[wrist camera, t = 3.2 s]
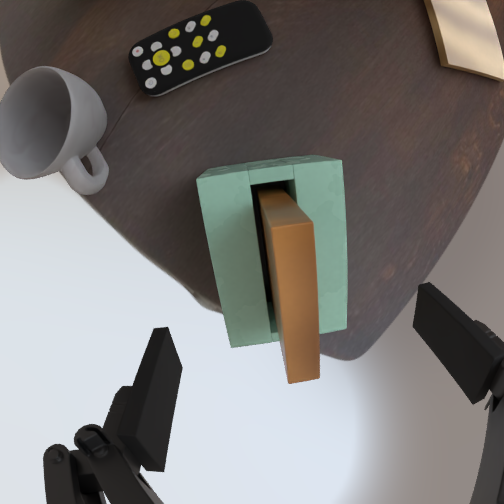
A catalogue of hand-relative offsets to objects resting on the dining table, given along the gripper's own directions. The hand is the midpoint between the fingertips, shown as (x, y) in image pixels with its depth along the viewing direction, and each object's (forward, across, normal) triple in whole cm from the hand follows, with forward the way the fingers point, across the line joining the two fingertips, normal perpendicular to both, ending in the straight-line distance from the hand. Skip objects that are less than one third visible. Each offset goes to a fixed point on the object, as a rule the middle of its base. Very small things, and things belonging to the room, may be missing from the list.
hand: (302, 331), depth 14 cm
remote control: (+16, -4, +19) cm, 25 cm away
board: (+16, +28, +24) cm, 40 cm away
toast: (+13, 0, 0) cm, 13 cm away
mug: (+16, -16, +13) cm, 26 cm away
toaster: (+16, 0, 0) cm, 16 cm away
